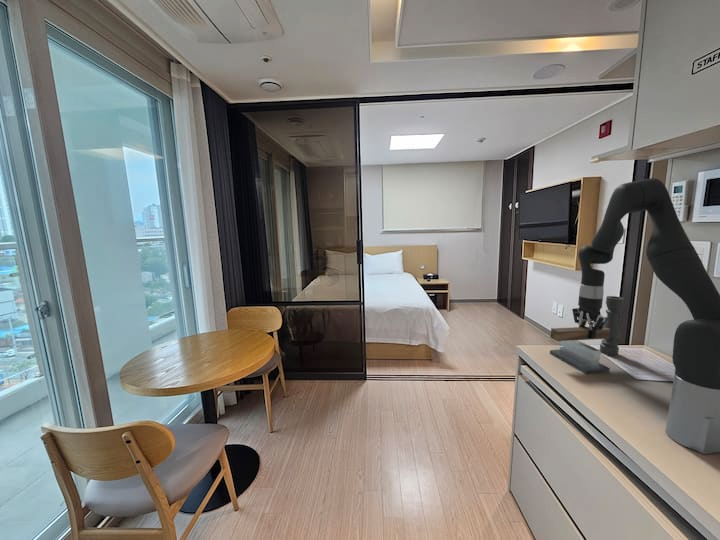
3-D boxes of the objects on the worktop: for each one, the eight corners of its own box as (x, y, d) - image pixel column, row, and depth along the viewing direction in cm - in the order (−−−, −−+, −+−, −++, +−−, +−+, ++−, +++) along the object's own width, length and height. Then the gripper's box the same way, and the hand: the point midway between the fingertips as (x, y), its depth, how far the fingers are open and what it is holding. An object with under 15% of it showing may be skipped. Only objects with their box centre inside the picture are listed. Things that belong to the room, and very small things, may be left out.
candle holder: (621, 356, 124) (629, 299, 120) (607, 356, 124) (613, 299, 120) (609, 349, 130) (616, 295, 126) (595, 349, 130) (601, 296, 126)
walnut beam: (609, 338, 117) (610, 329, 117) (556, 340, 116) (557, 331, 116) (601, 335, 121) (602, 326, 120) (550, 337, 120) (551, 328, 119)
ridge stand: (609, 371, 112) (611, 351, 110) (586, 374, 110) (588, 353, 109) (570, 351, 129) (571, 333, 128) (549, 353, 128) (551, 335, 127)
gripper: (616, 299, 109) (611, 342, 112) (583, 291, 123) (579, 329, 126) (599, 300, 108) (594, 344, 111) (567, 292, 122) (564, 330, 125)
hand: (586, 336), depth 119 cm, fingers closed on walnut beam, 3 cm apart
